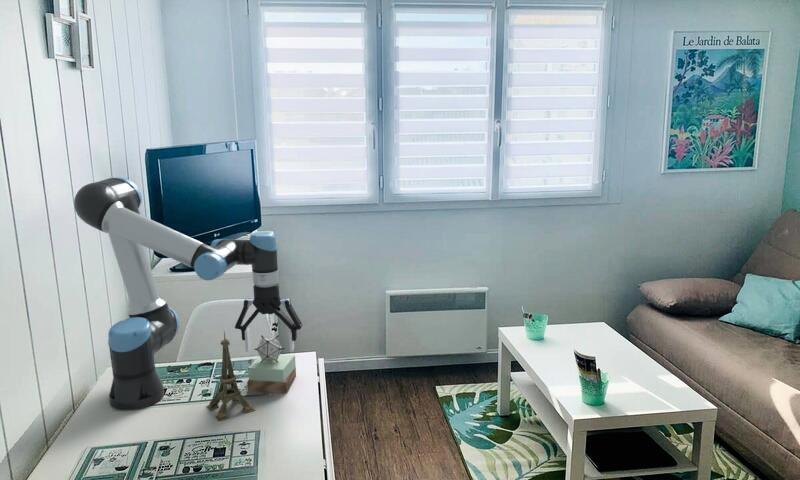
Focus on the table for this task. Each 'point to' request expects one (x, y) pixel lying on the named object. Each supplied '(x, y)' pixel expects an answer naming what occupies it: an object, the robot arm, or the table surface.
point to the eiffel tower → (227, 392)
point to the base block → (271, 385)
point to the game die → (269, 348)
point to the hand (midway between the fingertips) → (270, 350)
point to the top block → (272, 369)
